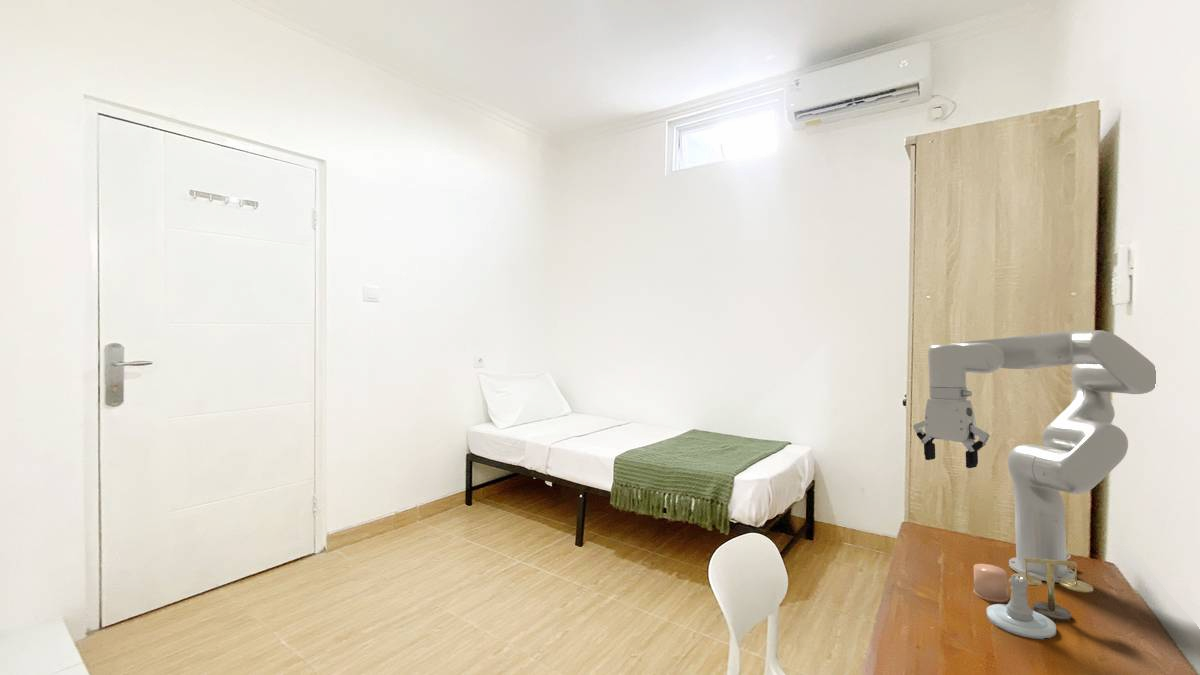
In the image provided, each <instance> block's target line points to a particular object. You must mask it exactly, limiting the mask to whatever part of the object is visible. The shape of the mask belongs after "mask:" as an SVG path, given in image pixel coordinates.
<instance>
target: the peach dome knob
mask: <svg viewBox="0 0 1200 675" xmlns="http://www.w3.org/2000/svg"><path fill="white" fill-rule="evenodd" d="M1007 573H1008V572H1007V571H1006V570H1005V569H1004V568H1001V567H1000V566H997V565H993V564H990V563H989V564H988V563H987V564H986V563H975V564H973V585H974V587H973V590H972V592H973V594H974V595H975V596H977V598H980V599H983V600H985V601H988V602H991V603H996V604H1005V603H1009V601H1010V598H1009V594H1008V585H1007V584H1008V580H1007V576H1008V574H1007Z"/></svg>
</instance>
